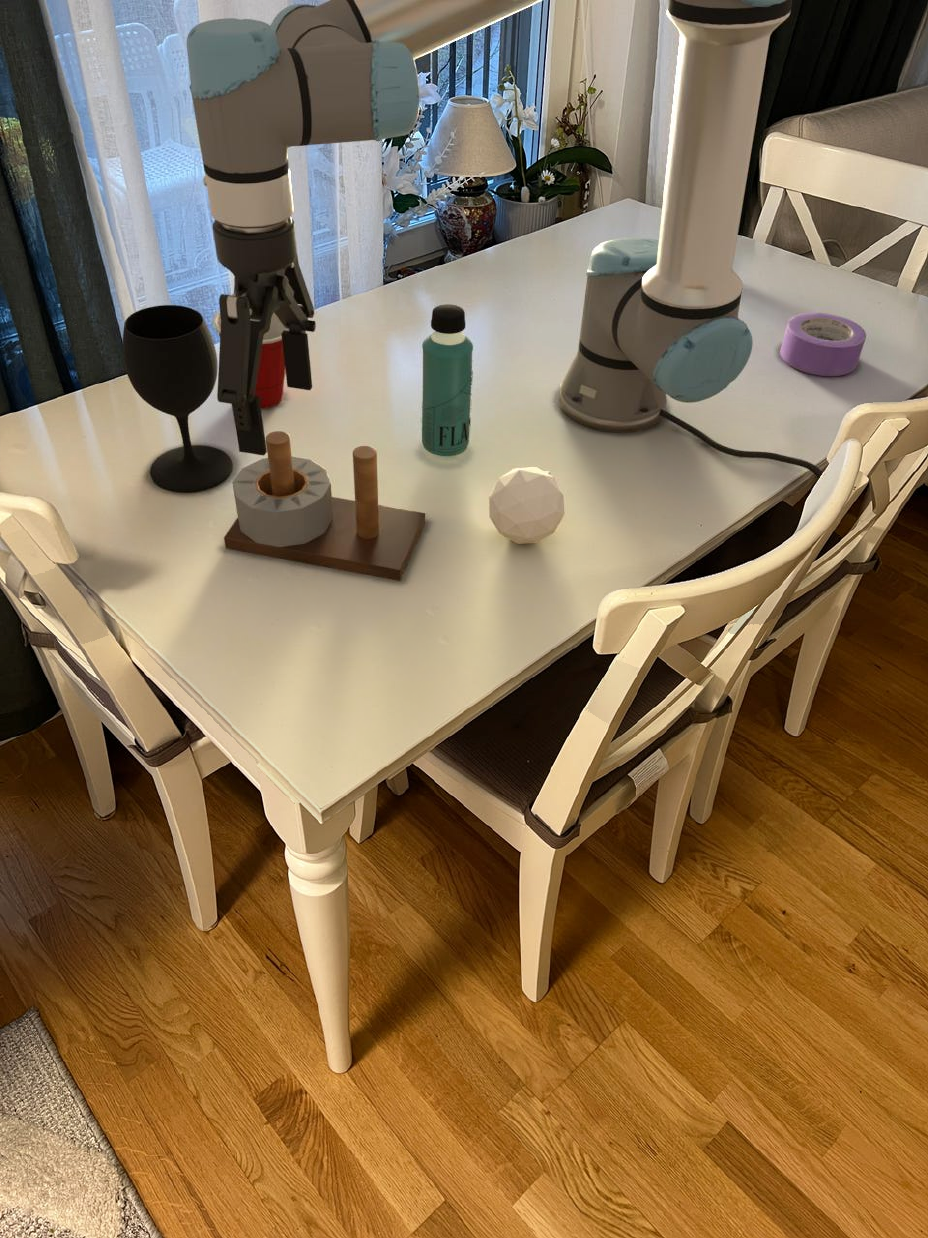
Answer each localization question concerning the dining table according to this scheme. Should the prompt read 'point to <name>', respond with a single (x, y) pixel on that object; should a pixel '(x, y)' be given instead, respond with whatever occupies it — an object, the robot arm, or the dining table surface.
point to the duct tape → (283, 504)
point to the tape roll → (822, 344)
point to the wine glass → (176, 389)
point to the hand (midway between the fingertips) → (277, 418)
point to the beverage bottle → (446, 383)
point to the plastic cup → (268, 363)
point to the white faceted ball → (526, 505)
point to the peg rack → (343, 521)
